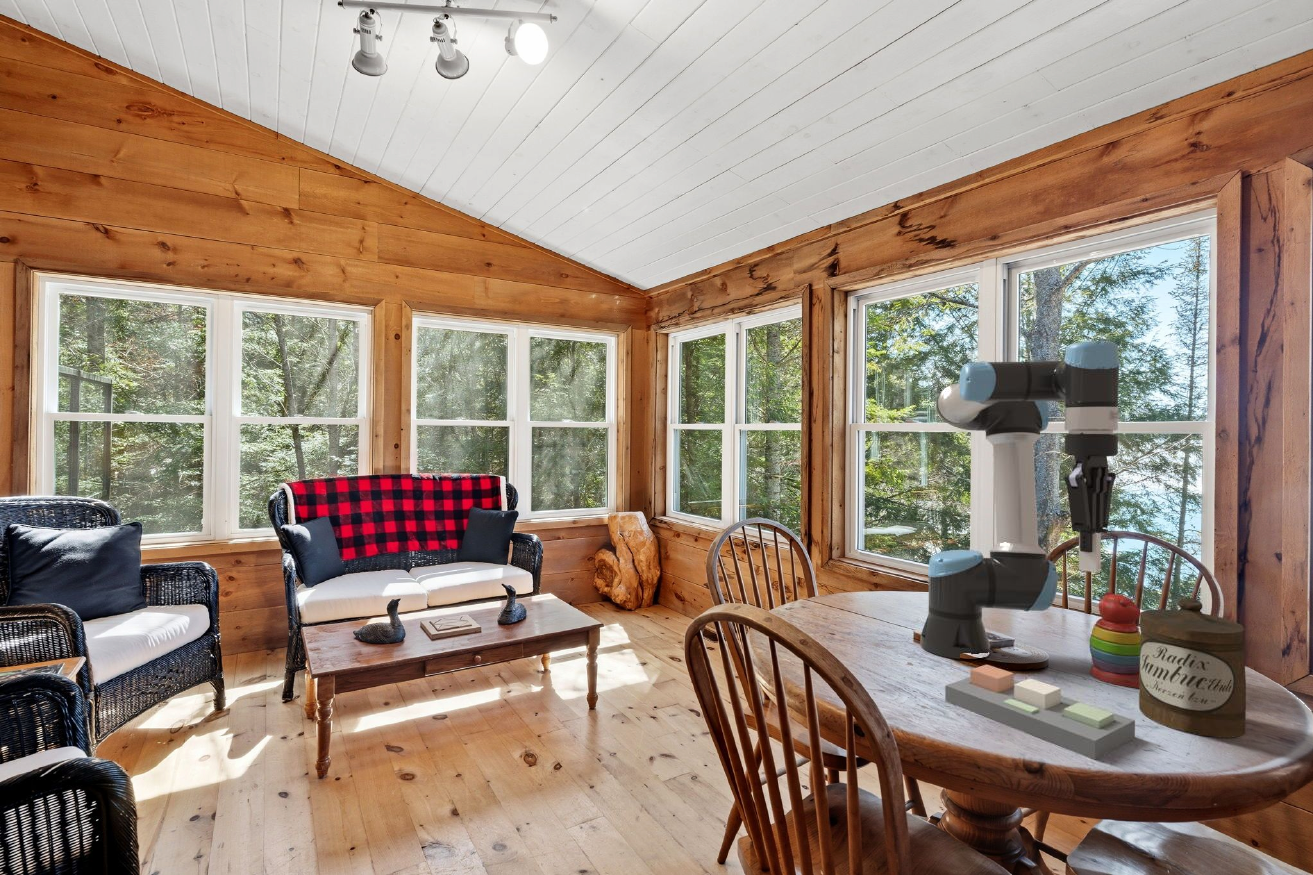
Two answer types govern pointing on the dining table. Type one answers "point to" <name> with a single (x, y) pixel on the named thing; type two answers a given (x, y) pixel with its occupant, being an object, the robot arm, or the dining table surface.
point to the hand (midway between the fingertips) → (1089, 570)
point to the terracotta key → (992, 678)
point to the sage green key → (1089, 715)
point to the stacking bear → (1116, 642)
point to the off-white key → (1037, 694)
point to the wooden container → (1193, 671)
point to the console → (1042, 719)
